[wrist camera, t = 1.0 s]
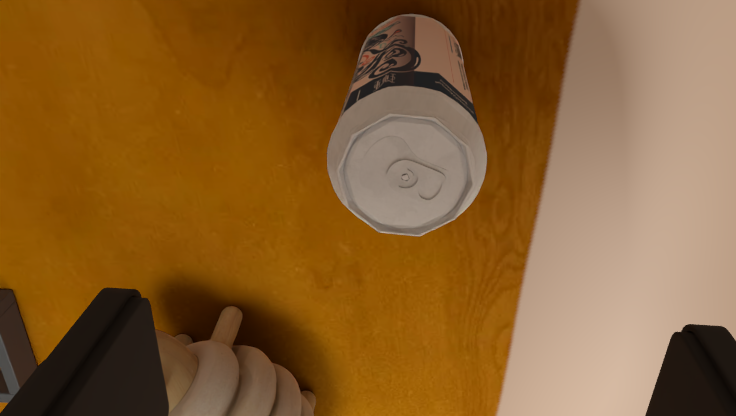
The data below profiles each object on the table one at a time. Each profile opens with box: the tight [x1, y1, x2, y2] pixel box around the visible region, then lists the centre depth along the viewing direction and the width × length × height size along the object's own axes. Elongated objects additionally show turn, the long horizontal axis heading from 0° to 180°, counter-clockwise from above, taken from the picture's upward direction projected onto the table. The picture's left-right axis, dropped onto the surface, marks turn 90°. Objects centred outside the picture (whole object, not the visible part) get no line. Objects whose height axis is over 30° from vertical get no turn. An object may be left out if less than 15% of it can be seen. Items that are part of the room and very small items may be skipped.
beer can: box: [327, 14, 487, 236], centre depth 22 cm, size 5×5×12 cm
